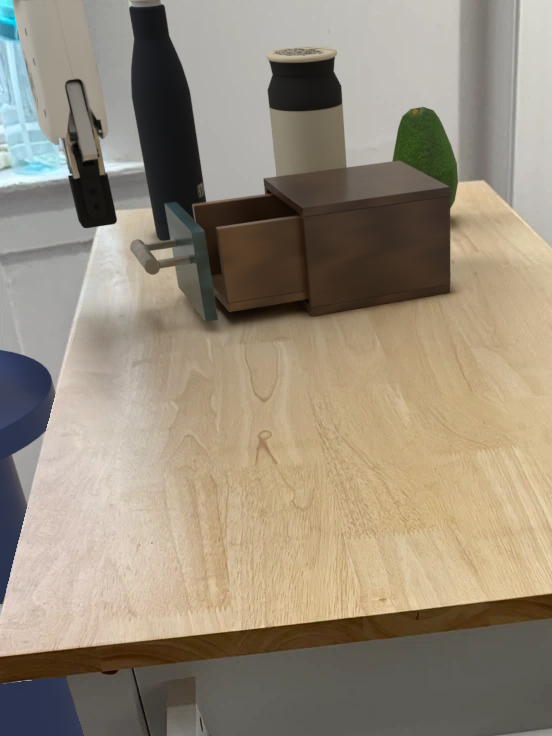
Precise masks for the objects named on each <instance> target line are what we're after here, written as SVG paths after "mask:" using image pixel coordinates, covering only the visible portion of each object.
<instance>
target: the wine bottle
mask: <svg viewBox="0 0 552 736" xmlns="http://www.w3.org/2000/svg"><path fill="white" fill-rule="evenodd" d="M129 2H131V5H130V6H129V8H128V11H129V17H130V24H131V29H132V35H133V45H132V46H133V47H132V56H131V66H130V87H131V88H130V90H131V100H132V106H133V111H134V118H135V122H136V128H137V135H138V139H139V145H140V151H141V156H142V162H143V168H144V173H145V179H146V184H147V189H148V195H149V199H150V207H151V211H152V217H153V218H152V219H153V223H154V228H155V235H156V238H158V240H160V241H164V240H170V234H169V228H168V222H167V216H166V210H165V205H164V204H165V203H171V202H177V203H178V204H179V205H180V206H181V207H182V208H183V209H184V210H185V211H186V212H187V213H188V214H189V215H190V216H191V217H192V219H193V220H194V214H193V208H192V204H195V203H203V202H207V197H206V190H205V182H204V176H203V170H202V169H203V168H202V163H201V156H200V150H199V142H198V136H197V135H198V134H197V129H196V122H195V117H194V115H195V114H194V109H193V104H192V103H193V101H192V94H191V90H190V87H189V83H188V79H187V76H186V73H185V69H184V66H183V64H182V61H181V59H180V57H179V55H178V52H177V50H176V47H175V45H174V43H173V40H172V39H171V36H170V32H169V31H170V30H169V25H168V18H167V12H166V6H165V5H164V4H163V3H161V0H129Z"/></svg>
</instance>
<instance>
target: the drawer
mask: <svg viewBox="0 0 552 736" xmlns="http://www.w3.org/2000/svg"><path fill="white" fill-rule="evenodd" d="M164 205H165V210H166V216H167V222H168V228H169V234H170V240H159V241H158V240H157V241H152V242H145V243H144V241H143V240H141V239H133V240H132V241H131V243H130V246H129V247H130V251H131V253H132V254H133V256H134V257H135V258H136V260H137V261H138V263H139V264H140V265H141V266H142V268H143V269H144V271H145V272H146V273H147V274H148V275H152V276H155V275H157V274H158V273H159V272H160V270H161V269H167V268H172V267H174V268H175V269H174V270H175V273H176V274H175V275H176V280H177V285H178V288H179V289H180V291H181V292H182V293H183V295H184V296H185V297H186V299H187V300H188V302H189V303H190V304H191V305H192V306H193V308H194V309H195V310H196V312H197V313H198V314H199V315H200V316H201V318H202V319H203V321H204V322H205V323H209V322H215V321H218V320H219V316H218V310H217V303H216V299H215V298H217V299H218V300H219V301H220V303H221V304H222V305H223V306H224V308H225V309H226V310H227V311H228V312H229V313H231V312H238V311H245V310H249V309H250V310H251V309H254V308H255V309H256V308H263V307H268V306H274V305H279V304H286V303H287V304H288V303H292V302H293V303H294V302H298V301H299V300H305V299H308V288H307V277H306V267H305V256H304V245H303V234H302V223H301V215H300V214H299V213H298V212H296V211H295V210H294V209H292V208H291V207H290V206H289V205H287V204H286V203H285V202H283V201H282V200H281V199H279V198H278V197H277V196H275V195H274V194H273V193H269V194H265V193H263V194H255V195H254V194H253V195H248V196H241V197H239V196H238V197H233V198H225V199H217V200H210V201H206V202H203V203H195V204H192V208H193V214H194V220H193V219H192V217H191V216H190V215H189V214H188V213H187V212H186V211H185V210H184V209H183V208H182V207H181V206H180V205H179V204H178V203H177V202H171V203H165V204H164ZM166 249H171V250H172V256H173V257H170V258H162V259H157V258H156V257H155V255H154V254H153V253H152V252H151V251H158V250H166Z"/></svg>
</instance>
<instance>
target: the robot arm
mask: <svg viewBox="0 0 552 736" xmlns="http://www.w3.org/2000/svg"><path fill="white" fill-rule="evenodd" d="M12 6H13V13H14V18H15V24H16V28H17V33H18V38H19V44H20V48H21V52H22V55H23V56H22V57H23V60H24V65H25V69H26V70H25V71H26V74H27V79H28V83H29V87H30V91H31V95H32V100H33V105H34V110H35V114H36V118H37V123H38V127H39V129H40V130H41V132H42V133H43V135H44V136H45V137H46V139H47V140H48V141H49V142H50V143H52V144H53V145H55V146H58V145H60V141H61V145H62V149H63V154H64V158H65V162H66V165H67V169H68V174H69V175H67V178H68V182H69V186H70V187H69V188H70V190H71V195H72V199H73V203H74V207H75V212H76V216H77V220H78V222H79V224H80V225H81V227H82V228H83V229H91V228H98V227H105V226H112V225H115V224H117V222H118V217H117V212H116V209H115V208H116V207H115V203H114V199H113V195H112V188H111V185H110V179H109V175H108V173H107V172H106V168H105V167H106V166H105V163H104V158H103V151H102V147H101V142H100V141H101V140H104V139H105V138H106V137H107V136H108V134H109V125H108V117H107V111H106V106H105V105H106V104H105V100H104V94H103V89H102V84H101V79H100V74H99V68H98V64H97V59H96V54H95V49H94V45H93V40H92V35H91V31H90V25H89V22H88V16H87V13H86V9H85V4H84V0H12ZM100 139H101V140H100Z"/></svg>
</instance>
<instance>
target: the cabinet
mask: <svg viewBox="0 0 552 736" xmlns="http://www.w3.org/2000/svg"><path fill="white" fill-rule="evenodd" d="M262 180H263V187H264V194H269V193H273V194H274V195H275V196H277V197H278V198H279V199H281V200H282V201H283V202H285V203H286V204H287V205H289V206H290V207H291V208H292V209H294V210H295V211H296V212H298V213H299V214H300V215H301V223H302V234H303V245H304V256H305V267H306V277H307V288H308V299H305V300H299V301H297V303H298V304H300V306H302V308H303V309H305V310H306V312H308V313H309V314H310V316H312V317H314V316H320V315H325V314H331V313H337V312H344V311H349V310H355V309H356V310H357V309H361V308H366V307H373V306H378V305H385V304H389V303H390V304H391V303H396V302H403V301H408V300H413V299H419V298H426V297H431V296H437V295H443V294H449V293H451V209H450V187H449V186H447V185H445V184H443V183H442V182H440V181H438V180H436V179H434V178H432V177H430V176H428V175H426V174H424V173H422V172H421V171H419V170H417V169H415V168H413V167H411V166H409V165H407V164H405V163H403V162H401V161H393V160H392V161H385V162H377V163H370V164H363V165H362V164H361V165H354V166H347V167H346V168H339V169H331V170H323V171H316V172H308V173H300V174H293V175H285V176H278V177H277V176H271V177H263V179H262Z"/></svg>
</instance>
